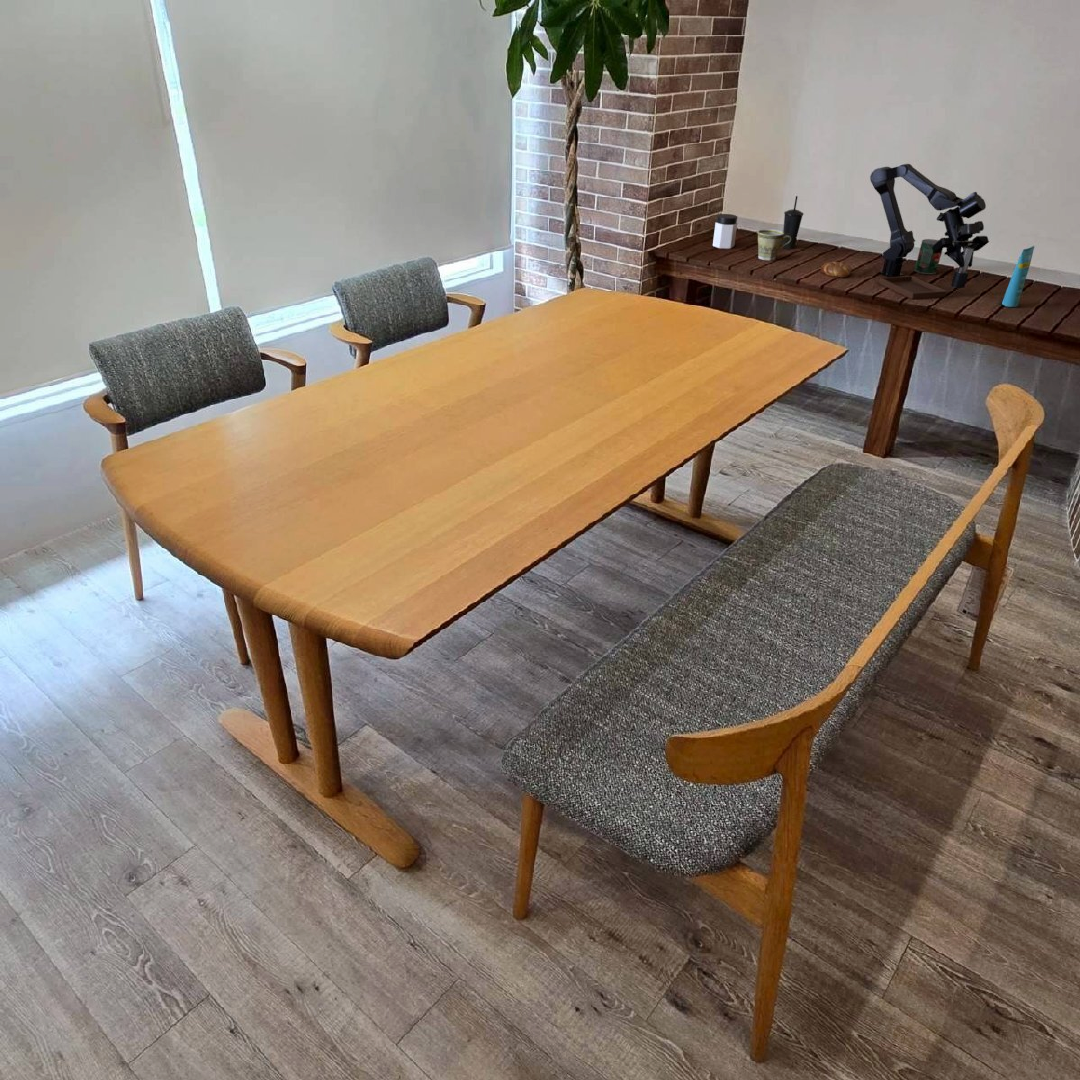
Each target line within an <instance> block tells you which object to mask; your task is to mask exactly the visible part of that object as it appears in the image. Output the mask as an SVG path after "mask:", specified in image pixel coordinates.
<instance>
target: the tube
mask: <svg viewBox="0 0 1080 1080" xmlns="http://www.w3.org/2000/svg"><path fill="white" fill-rule="evenodd" d="M1034 249H1035V245H1032V246H1031V247H1028V248H1024V249H1022V251H1021V253H1020V255H1019V257H1018V259H1017V262H1016V265H1015V267H1014V270H1013V273H1012V275H1011V277H1010V280H1009V283H1008V286H1007V289H1006V291H1005V294H1004V296H1003V299H1002V302H1001V305H1003V306H1004V307H1009V308H1017V307H1018V306H1019V303H1020V299H1021V296H1022V293H1023V289H1024V286H1025V283H1026V278H1027V276H1028V273H1029V269H1030V266H1031V262H1032V258H1033V254H1034Z"/></svg>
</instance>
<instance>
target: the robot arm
mask: <svg viewBox="0 0 1080 1080" xmlns="http://www.w3.org/2000/svg"><path fill="white" fill-rule="evenodd" d="M898 178H902V179H904V180H905V181H906V182H907V183H909V184H910V185H911V186H913V187H914V188H915V189H917V190H918V191H919V192H920V193H922V195H924V196H925V197H926V198H927V201H928V203H929V204H930V205H931V206H932V207H933V209H934V210H936V211H941V212H940V213H939V215H937V217H936V221H939V222H942V223H944V226H945V229H946V232H944V236H945V237H941V238H940V239H938V240H939V241H937V242H936V243H935V244H934V245H933V247H932V250H933V253H941V251H942V252H943V250H942V248H943V249H946V251H945V252H944V255H945V256H947V257H948V258H950V259H951V260H952V261H953V262H955V264H956V265H958V267H959V266H960V267H961V268H962V267H964V261H963V257H962V255H963V252H964V248H965V247H971V248H973V252H972V256H971V259H970V262H969V266H968V268H971V267H972V266H973V259H974V254H975V252H977V251H980V250H981V249H982V248H983V247H985V246H986V245H987V244H988V243H990V241H989V237H988V236H987V235H976V234H981V232H982V231H984V230H985V227H984V223H983V221H982V220H978V221H975V222H973V223H965V221H964V218H965V219H970V218H972V217H974V216H975V215H977V214H979V213H980V212H982V211H984V210H985V209H986V207H987V205H986V204H987V203H986V201H985V199H984V198H983V197H982V196H981V195H980V194H978V192H977V191H973V192H971V193H970V194H969V195H968V196H966V197H965V198H962V197H960V196H957V194H956V193H955V192H953V190H950V189H948V188H945V187H942V186H940V185H938V184H936V183H935V182H933V181H932V180H930V179H929V178H928V177H927V176H925V175H924V174H922V173H921V172H920V171H919V170H917V169H916V168H915V167H913V165H912V164H910V163H904V164H900V165H898V166H893V167H891V166H882V167H877V168H875V169H874V170H873V171H872V172H871V174H870V176H869V180H870V183H871V185H872V187H873V189H874V190H875V191H876V192H877V194H879V196H880V201H881V203H882V207H883V210H884V214H885V217H886V220H887V225H888V227H889V231H890V237H889V238H890V239H889V246H890V247H888V248H887V249H886V250H885V251H883V252H882V258H883V259H884V262H883V266H882V270H878V273H879V274H881V275H883V276H884V277H899V276H904V274H903V273H901V272H902V267H903V263H904V258H906V257H907V256H908V254H910V253H911V252H912V251H913V250H914V248H915V242H916V240H915V237H914V232H913V230H909V231H908V230H907V229H906V227H905V224H904V220H903V217H902V214H901V210H900V207H899V203H898V200H897V197H896V193H895V183H896V179H898ZM944 210H946V211H944ZM942 211H944V212H942ZM974 235H976V236H975V237H974ZM973 237H974V238H973ZM971 238H972V240H971ZM969 239H970V240H969ZM941 254H942V253H941Z"/></svg>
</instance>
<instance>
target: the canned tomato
mask: <svg viewBox="0 0 1080 1080" xmlns="http://www.w3.org/2000/svg"><path fill="white" fill-rule="evenodd" d="M939 240H940V239H933V238H925V239H922V240H921V244H920V248H919V251H918V255H917V259H916V263H915V266H914V272H916V273H917V274H918V273H919V274H924V275H935V274H937V272H938V268H939V264H940V260H941V257H942V254H943V250H944V248H942V251H941V253H933V250H932V247H933V245H934V244H935V243H936V242H937V241H939Z"/></svg>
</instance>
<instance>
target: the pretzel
mask: <svg viewBox="0 0 1080 1080" xmlns="http://www.w3.org/2000/svg"><path fill="white" fill-rule="evenodd" d="M820 271H821V273H822V274H825V275H827V276H830V277H833V278H834V277H837V278H842V279H843V278H846V277H848V276H851V274H852V267H851V266H850V265H848V264H847V263H844V262H840V261H832V262H831V261H826V262H825V263H823V264H822V265H821V267H820Z"/></svg>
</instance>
